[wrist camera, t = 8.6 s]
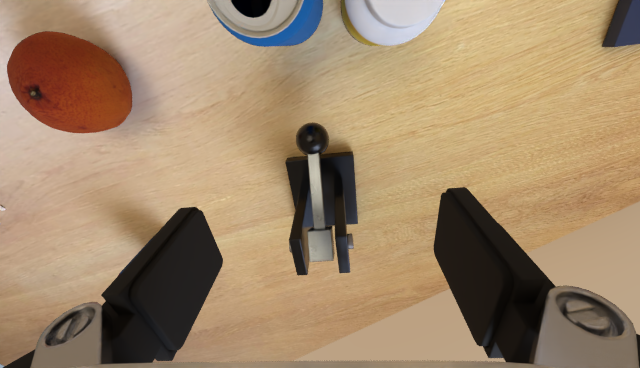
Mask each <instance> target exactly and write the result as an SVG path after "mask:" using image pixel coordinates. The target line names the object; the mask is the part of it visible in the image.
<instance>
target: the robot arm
mask: <svg viewBox="0 0 640 368" xmlns="http://www.w3.org/2000/svg"><path fill="white" fill-rule="evenodd" d="M434 253H435V257H436V259H437V261H438V263H439V265H440V267H441V269H442V272H443V274H444V276H445V278H446V280H447V282H448V284H449V287H450V289H451V291H452V293H453V295H454V297H455V299H456V302H457V304H458V306H459V308H460V310H461V312H462V314H463V316H464V319H465V321H466V323H467V325H468V327H469V329H470V331H471V334H472V336H473V338H474V340H475V342H476V343H477V345H479V346H483V347H484V349H485V352H486V354H487V356H488V358H504V359H505V361H506V362H488V361H246V362H167V363H152V362H153V360H154V358H155V359H156V360H157V361H172V360H173V358H174V356H175V354H176V352H177V350H179V349H180V348H181V347H182V346H183V344H184V342H185V340H186V338H187V336H188V334H189V332H190V330H191V328H192V326H193V324H194V322H195V320H196V318H197V316H198V314H199V312H200V310H201V308H202V306H203V304H204V302H205V300H206V298H207V295H208V293H209V291H210V289H211V287H212V285H213V283H214V281H215V279H216V277H217V275H218V273H219V271H220V269H221V267H222V264H223V258H222V256H221V253H220V251H219V249H218V246H217V244H216V242H215V239H214V237H213V235H212V232H211V230H210V228H209V226H208V223H207V221H206V219H205V216H204V214H203V212H202V211H201V210H199V209H198V208H196V207H188V208H180V209H179V210H178V211H177V212H176V213H175V214H174V215H173V216H172V217H171V219H170V220H169V221H168V222H167V223H166V224H165V225H164V226H163V227H162V228H161V230H160V231H159V232H158V233H157V234H156V235H155V236H154V237H153V238H152V240H151V241H150V242H149V243H148V244H147V245H146V246H145V247H144V248H143V249H142V251H141V252H140V253H139V254H138V255H137V256H136V257H135V258H134V259H133V260H132V262H131V263H130V264H129V265H128V266H127V267H126V268H125V269H124V270H123V271H122V273H121V274H120V275H119V276H118V277H117V278H116V279H115V280H114V281H113V282H112V284H111V285H110V286H109V287H108V288H107V289H106V290H105V291H104V292H103V294H102V297H103V298H104V299H105V300H106V302H105V303H104V304H103V305H102V306H101V305H100V304H99V303H97V302H88V303H84V304H81V305H78V306H76V307H74V308H72V309H70V310H68V311H67V312H65V313H63V314H62V315H61V316H59V317H58V318H57V319H55V320H54V321H53V322H52V323H51V324H50V325H49V326H48V327H47V328H46V329H45V330H44V332H43V333H42V334H41V336H40V338H39V340H38V342H37V345H36V349H35V350H33V351H31V352H30V353H28V354H26V355H24V356H23V357H21V358H19V359H17V360H15V361H14V362H12V363H10V364H8V365H7V366H5V367H3V368H640V335H638V334H636V331H635V329H634V326H633V323H632V322H631V320H630V319H629V318H628V317H627V315H626V314H625V313H624V312H623V311H622V310H620V309H619V308H618V307H617V306H616V305H615V304H613V303H611V302H610V301H608V300H607V299H605V298H603V297H602V296H600V295H598V294H595V293H593V292H591V291H589V290H585V289H582V288H579V287H573V286H557V287H556V286H555V285H554V284H553V283H552V282H551V281H550V280H549V279H548V277H547V276H546V275H545V274H544V273H543V272H542V271H541V270H540V268H539V267H538V266H537V265H536V264H535V263H534V262H533V261H532V260H531V258H530V257H529V256H528V255H527V254H526V253H525V252H524V251H523V249H522V248H521V247H520V246H519V245H518V244H517V243H516V242H515V241H514V239H513V238H512V237H511V236H510V235H509V234H508V233H507V232H506V230H505V229H504V228H503V227H502V226H501V225H500V224H499V223H497V222H496V221H495V220H494V218H493V217H492V216H491V215H490V214H489V213H488V212H487V211H486V209H485V208H484V207H483V206H482V205H481V204H480V203H479V202H478V200H477V199H476V198H475V197H474V196H473V195H472V194H471V193H470V191H469V190H468V189H467V188H465V187H462V188H449V189H447V191H446V193H442V195H441V200H440V207H439V214H438V221H437V228H436V234H435V241H434Z"/></svg>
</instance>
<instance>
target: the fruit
mask: <svg viewBox="0 0 640 368" xmlns="http://www.w3.org/2000/svg"><path fill="white" fill-rule="evenodd" d="M7 73H8V78H9V83H10V86H11V88H12V91H13V93H14V95H15V96H16V98H17V100H18V101H19V102H20V104H21V105H22V106H23V107H24V108H25V109H26V110H27V111H28V112H29V113H30V114H31V115H32V116H33V117H35V118H36V119H37V120H39V121H40V122H42V123H44V124H46V125H48V126H50V127H52V128H55V129H58V130H62V131H66V132H72V133H91V132H100V131H105V130H108V129H111V128H114V127H117V126H119V125H120V124H121V123H122V122H124V120H125V119H126V117H127V116H128V115H129V113H130V111H131V108H132V92H131V86H130V83H129V80H128V78H127V76H126V74H125V72H124V70H123V69H122V67H121V66H120V64H119V63H118V62H117V61H116V60H115V59H114V58H113V57H112V56H111V55H109V54H108V53H107V52H106V51H104V50H103V49H101V48H99V47H98V46H96V45H94V44H93V43H91V42H89V41H86V40H83V39H79V38H77V37H75V36H72V35H68V34H65V33H59V32H48V31H45V32H40V33H36V34H34V35H31V36H29V37H27V38H25V39H24V40H22V41H21V42H20V43H19V44H18V45H17V46H16V47H15V49H14V50H13V52H12V54H11V57H10V59H9V61H8V64H7Z"/></svg>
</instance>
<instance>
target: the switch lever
mask: <svg viewBox="0 0 640 368" xmlns="http://www.w3.org/2000/svg"><path fill="white" fill-rule="evenodd" d="M328 143H329V135H328V133H327V131H326V129H325V128H324V127H323V126H322V125H320V124H318V123H307V124H305V125H303V126H302V127H301V128H300V129H299V130H298V132H297V135H296V144H297V147H298V148H299V150H300V151H301V152H302V153H304V154H305V155H308V167H309V178H310V190H311V202H312V214H313V225H314V227H311V228H310V229H309V230H308V231H307V237H308V249H309V261H310V262H319V261H333V260H334V254H335V253H334V241H333V230H332V226H326V220H325V208H324V197H323V185H322V174H321V162H320V154H321V153H323V152H324V151H325V150H326V148H327V146H328Z"/></svg>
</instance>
